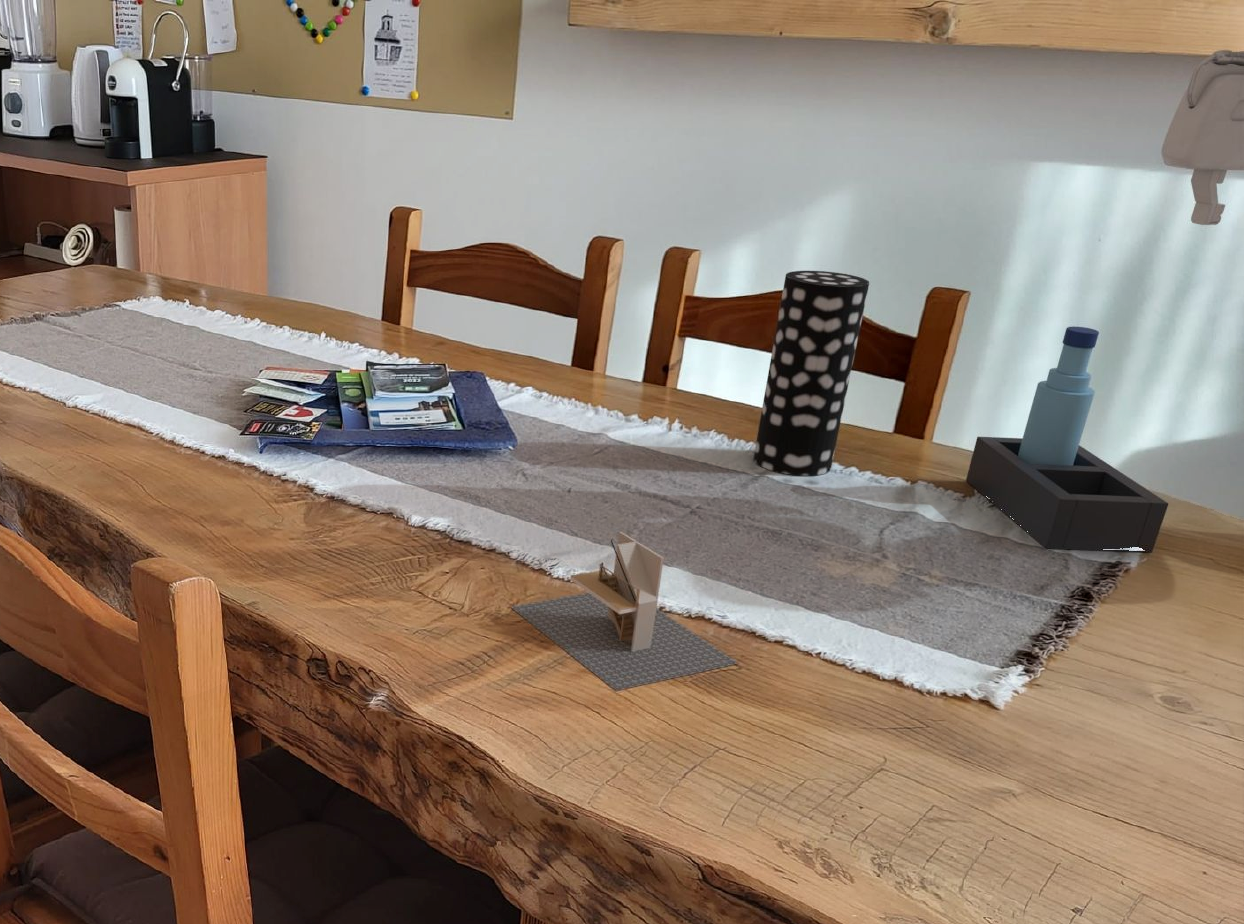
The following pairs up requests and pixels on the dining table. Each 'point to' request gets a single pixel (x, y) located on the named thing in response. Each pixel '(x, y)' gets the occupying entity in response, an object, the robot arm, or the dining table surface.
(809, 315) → the spotted tube
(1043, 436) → the bottle
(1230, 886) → the dining table surface
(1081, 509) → the holder
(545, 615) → the architectural model
